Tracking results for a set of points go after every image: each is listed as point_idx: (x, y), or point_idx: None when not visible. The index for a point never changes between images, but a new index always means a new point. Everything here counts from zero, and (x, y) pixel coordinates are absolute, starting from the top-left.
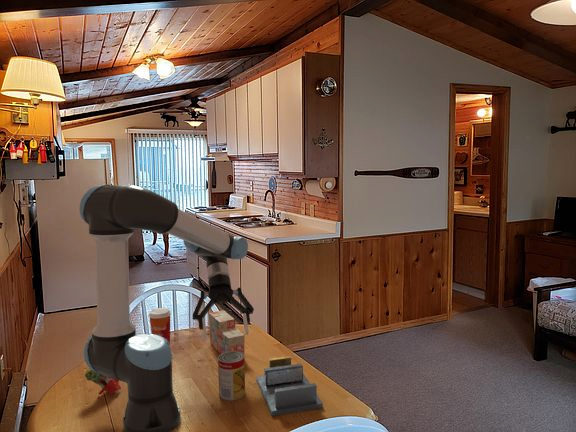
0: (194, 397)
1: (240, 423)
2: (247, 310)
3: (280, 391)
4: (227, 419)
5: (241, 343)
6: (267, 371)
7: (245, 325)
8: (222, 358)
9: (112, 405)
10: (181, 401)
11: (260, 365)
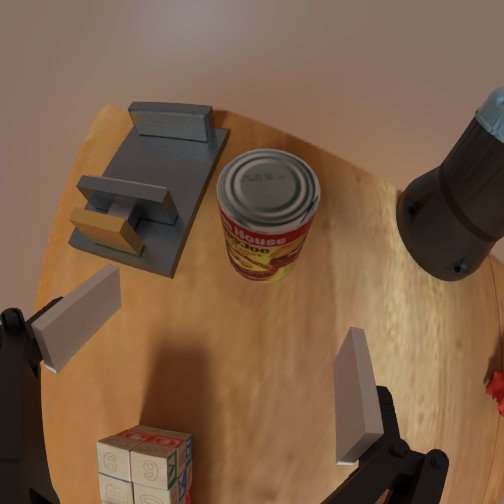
0: (357, 282)
1: (291, 145)
2: (11, 315)
3: (202, 105)
4: (310, 165)
5: (123, 438)
6: (163, 190)
7: (97, 283)
8: (303, 192)
9: (495, 330)
10: (388, 279)
11: (116, 358)
